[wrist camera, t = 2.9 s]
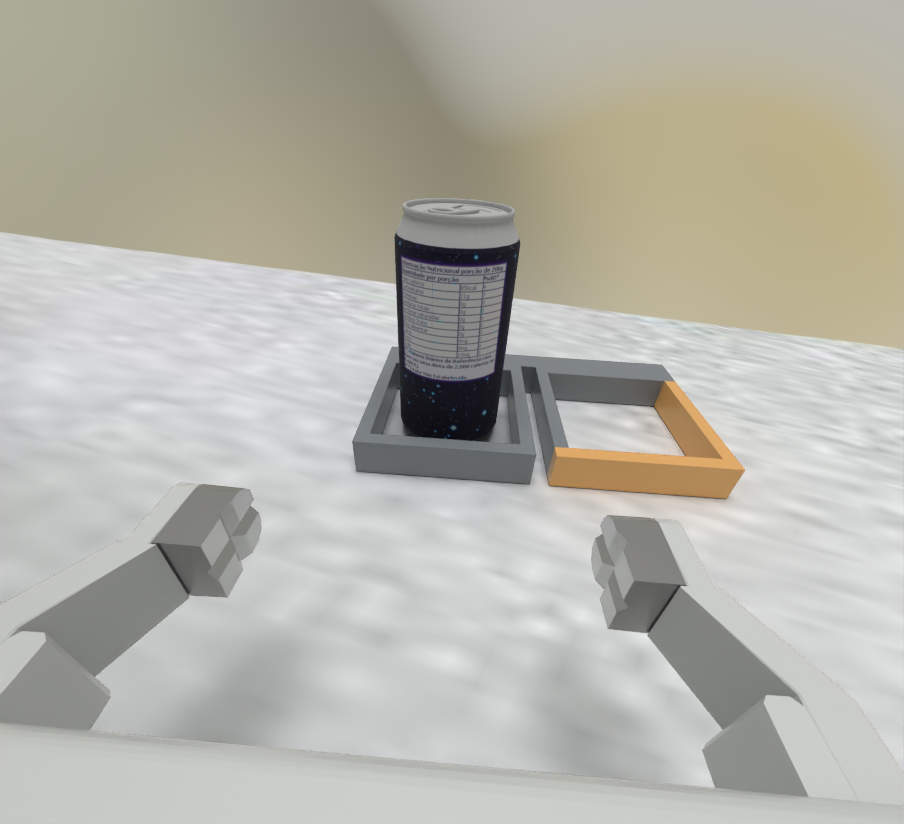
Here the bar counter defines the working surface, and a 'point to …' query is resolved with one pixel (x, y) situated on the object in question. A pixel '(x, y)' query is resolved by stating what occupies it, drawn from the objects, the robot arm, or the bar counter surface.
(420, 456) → the divided rectangular frame
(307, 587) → the bar counter surface
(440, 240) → the beverage can
